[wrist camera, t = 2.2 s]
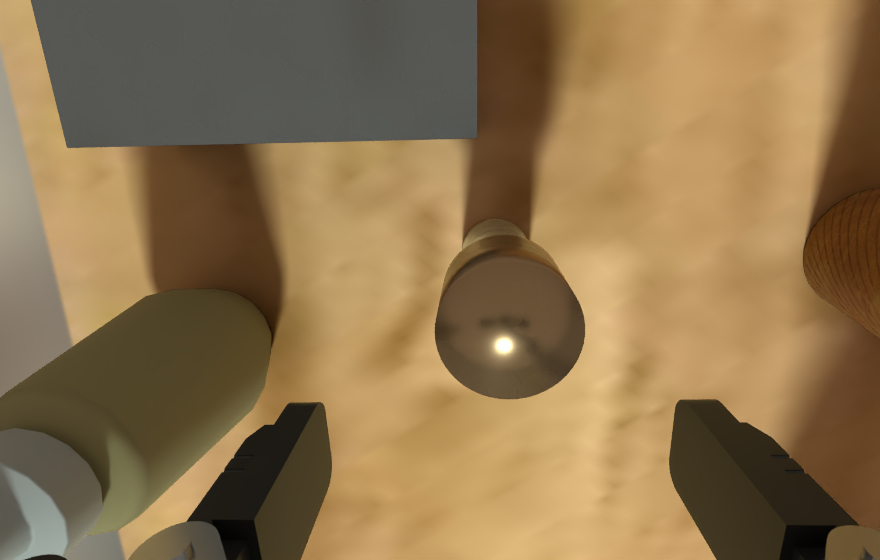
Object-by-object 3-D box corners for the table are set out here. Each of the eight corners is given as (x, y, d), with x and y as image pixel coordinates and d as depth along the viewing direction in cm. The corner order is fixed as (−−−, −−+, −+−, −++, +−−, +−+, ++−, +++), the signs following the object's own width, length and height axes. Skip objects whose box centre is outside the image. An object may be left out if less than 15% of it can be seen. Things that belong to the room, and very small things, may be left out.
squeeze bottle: (145, 272, 28) (-393, 501, 10) (279, 266, 27) (-62, 502, 10) (176, 394, 30) (-222, 745, 13) (300, 392, 29) (55, 760, 12)
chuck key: (541, 206, 25) (590, 261, 14) (538, 293, 26) (580, 400, 16) (450, 207, 25) (432, 261, 15) (451, 293, 27) (436, 397, 16)
